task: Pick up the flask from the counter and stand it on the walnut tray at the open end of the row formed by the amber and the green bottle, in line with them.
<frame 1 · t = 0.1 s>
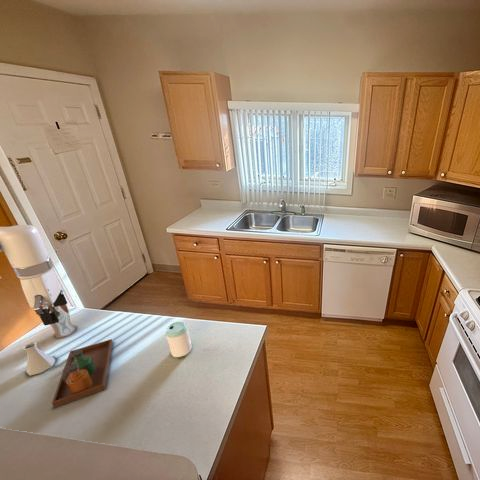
hand: (56, 313, 80), 24 cm above the counter, tool pointing down, fingers open, 9 cm apart
can: (182, 351, 98), on the counter
flask: (41, 366, 89), on the counter
green bottle: (86, 372, 87), point 1 cm above the counter, touching tray
amber bottle: (82, 387, 83), point 1 cm above the counter, touching tray
tray: (87, 371, 88), on the counter
beer glass: (65, 332, 104), on the counter
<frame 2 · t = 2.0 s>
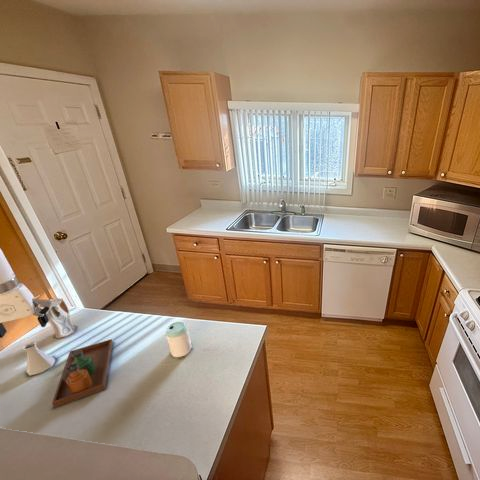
hand: (24, 329, 83), 17 cm above the counter, tool pointing down, fingers open, 9 cm apart
nothing on the counter moved.
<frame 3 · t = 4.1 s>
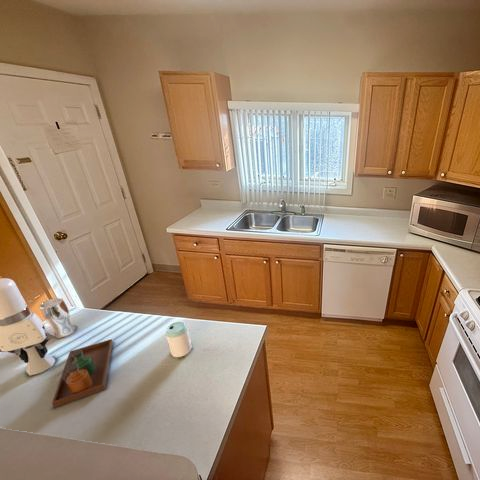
hand: (36, 357, 88), 5 cm above the counter, tool pointing down, fingers closed on flask, 3 cm apart
flask: (41, 366, 89), on the counter, touching gripper
everything else where it was.
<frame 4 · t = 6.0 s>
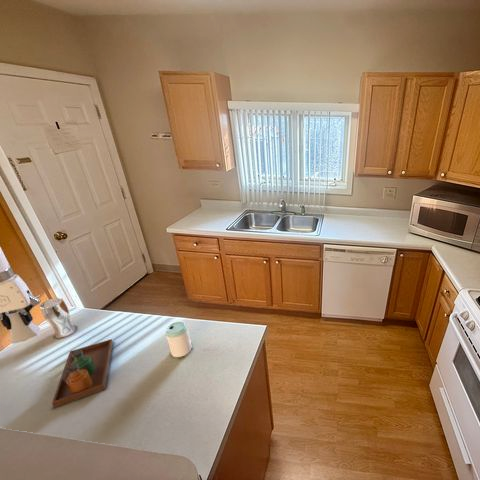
hand: (20, 324, 82), 19 cm above the counter, tool pointing down, fingers closed on flask, 3 cm apart
flask: (26, 335, 84), point 14 cm above the counter, touching gripper
everything else where it was.
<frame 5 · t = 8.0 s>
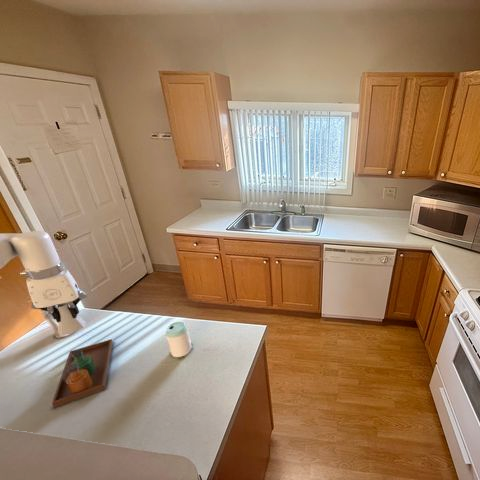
hand: (67, 317, 85), 19 cm above the counter, tool pointing down, fingers closed on flask, 3 cm apart
flask: (73, 328, 87), point 15 cm above the counter, touching gripper
everything else where it was.
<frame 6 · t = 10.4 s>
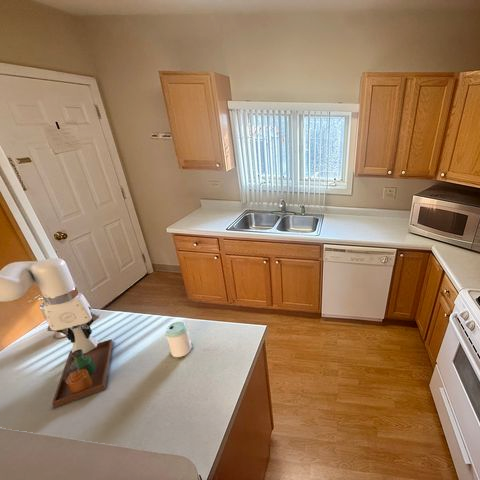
hand: (81, 337, 89), 10 cm above the counter, tool pointing down, fingers closed on flask, 3 cm apart
flask: (86, 347, 91), point 5 cm above the counter, touching gripper
everything else where it was.
when the fingers open (5 cm above the counter, at t = 12.0 s): flask stays where it is, resting on tray.
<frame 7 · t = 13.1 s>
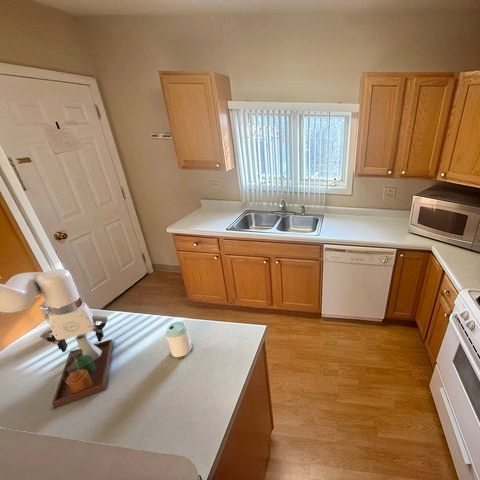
hand: (83, 343, 90), 7 cm above the counter, tool pointing down, fingers open, 9 cm apart
flask: (90, 357, 93), resting on tray
everything else where it was.
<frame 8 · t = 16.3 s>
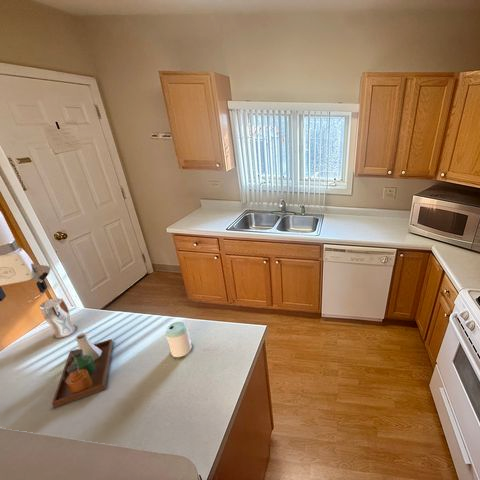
hand: (23, 294, 84), 26 cm above the counter, tool pointing down, fingers open, 9 cm apart
nothing on the counter moved.
at the end: flask tilted 0°; green bottle moved 0.0 cm from its start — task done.
